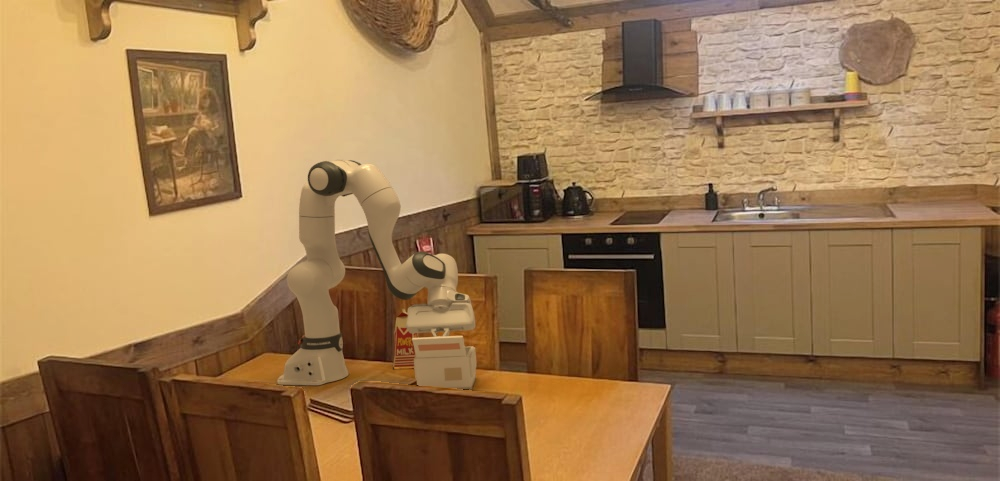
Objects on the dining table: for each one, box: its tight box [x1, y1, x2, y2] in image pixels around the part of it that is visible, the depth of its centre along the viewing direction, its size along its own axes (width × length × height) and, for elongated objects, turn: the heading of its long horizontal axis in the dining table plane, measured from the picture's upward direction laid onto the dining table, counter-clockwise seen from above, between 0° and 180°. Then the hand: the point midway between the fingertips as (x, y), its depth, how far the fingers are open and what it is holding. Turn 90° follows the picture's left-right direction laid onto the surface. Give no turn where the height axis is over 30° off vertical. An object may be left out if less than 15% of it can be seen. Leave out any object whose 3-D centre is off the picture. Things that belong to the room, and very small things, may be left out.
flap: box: [412, 335, 466, 358], centre depth 210 cm, size 15×8×1 cm
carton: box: [413, 345, 478, 391], centre depth 220 cm, size 17×13×10 cm
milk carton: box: [392, 308, 420, 368], centre depth 244 cm, size 9×9×20 cm
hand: (439, 343), depth 210 cm, fingers closed, pressing on flap
